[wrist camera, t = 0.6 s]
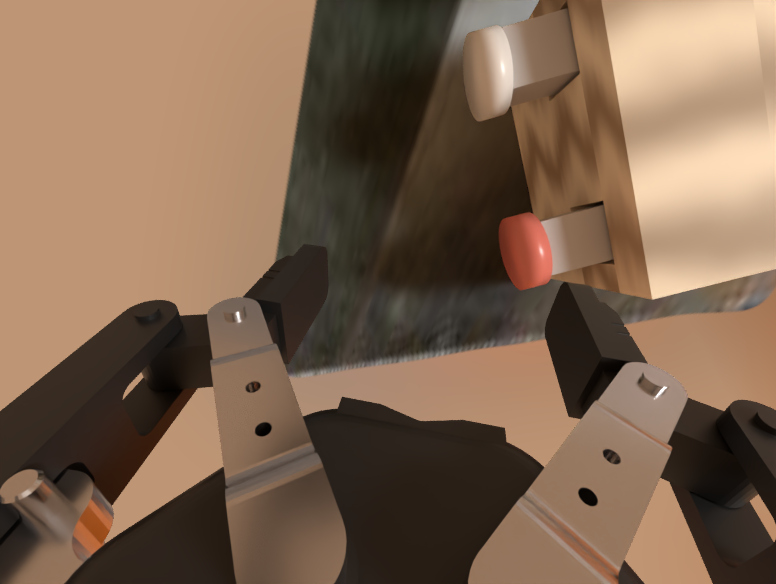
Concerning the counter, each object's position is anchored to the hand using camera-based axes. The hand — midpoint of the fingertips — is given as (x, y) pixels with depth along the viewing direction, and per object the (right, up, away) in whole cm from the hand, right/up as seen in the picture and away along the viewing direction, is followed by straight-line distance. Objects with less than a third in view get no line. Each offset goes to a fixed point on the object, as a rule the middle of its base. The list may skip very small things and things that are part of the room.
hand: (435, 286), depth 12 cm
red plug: (+11, +4, +15) cm, 19 cm away
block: (+16, +12, +20) cm, 29 cm away
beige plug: (+8, +15, +14) cm, 22 cm away
